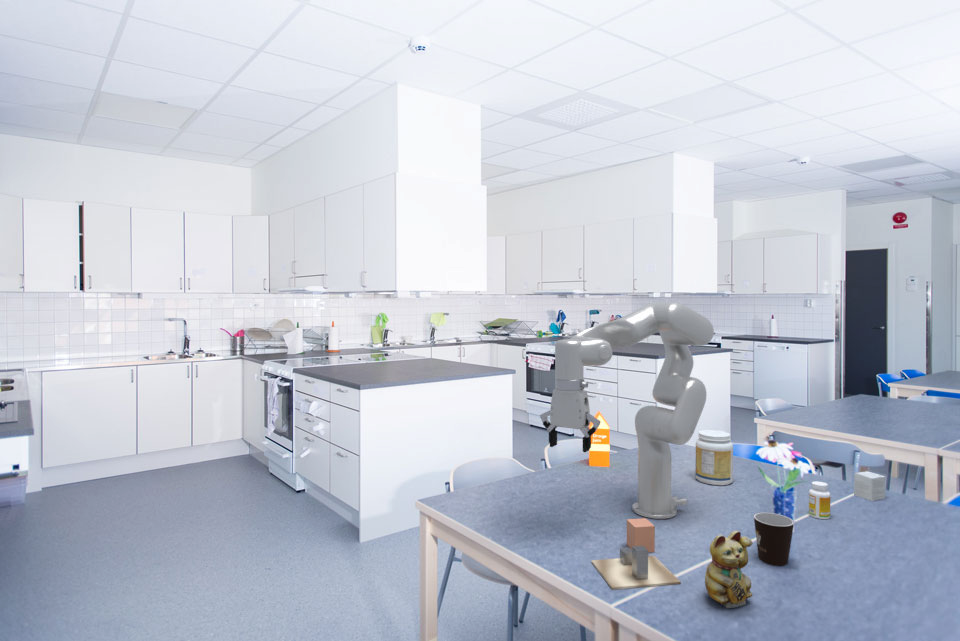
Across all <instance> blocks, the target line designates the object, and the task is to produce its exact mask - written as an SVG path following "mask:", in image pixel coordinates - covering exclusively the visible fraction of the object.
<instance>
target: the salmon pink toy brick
mask: <svg viewBox="0 0 960 641" xmlns="http://www.w3.org/2000/svg"><path fill="white" fill-rule="evenodd" d="M655 528H656V526H655V525H654V524H653V523H652V522H651V521H650V520H648V518H647V517H642V518H629V519H626V546H627V548H631V549H632V546H644V547H645V548H646V549H647V550H648V553H655V552H656V550H655V548H656V547H655V544H656V542H655V541H656V540H655V539H656V529H655Z"/></svg>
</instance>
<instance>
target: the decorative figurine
mask: <svg viewBox="0 0 960 641" xmlns="http://www.w3.org/2000/svg"><path fill="white" fill-rule="evenodd" d="M741 534H742V533H741V531H739V530H732V531H731V532H730V533H729V534H728V536H727V537H726V536H725V535H723V534H718V535H717V536H715V537H714V538H713V540H712V541H711V543H710V545H709V553H710V556H711V562H709V563H708V564H707V566H706V570H705V576H704V585H705V589H706V592H707V594H708V596H709V597H710V598H711V599H713V600H714V601H716V602H717V603H719V604H720V605H722V606H723V607H725V608H726V609H730V608H731V609H732V608H733V609H734V608H737V607H742V606H745V605H746V604H747V602H746V600H747V599H750V598H751V597H753V592H752V591H751V588H752V581H751V578H750V576H748V575H747V574H744V573H743V572H742V570H741V569H743V568H745V567H746V566H747V565H748V563H749V553H748V549H747V548H750V547H751V546H753V540H752V539H751V538H749V537H748V536H741Z"/></svg>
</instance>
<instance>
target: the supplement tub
mask: <svg viewBox="0 0 960 641" xmlns="http://www.w3.org/2000/svg"><path fill="white" fill-rule="evenodd" d="M731 440H732V439H731V433H729V432H727V431H724V430H718V429H702V430H699V431H698V435H697V439H696V441H695V478H696V479H697V481H699V482H701V483H703V484H707V485H713V486H727V485H730V484H732V482H733V481H734V444H733V442H732V441H731Z"/></svg>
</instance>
